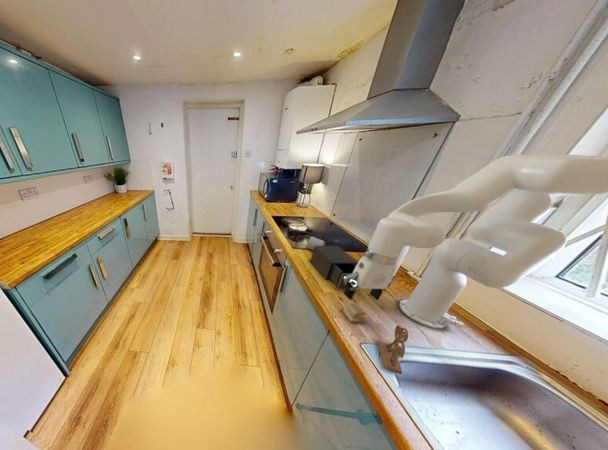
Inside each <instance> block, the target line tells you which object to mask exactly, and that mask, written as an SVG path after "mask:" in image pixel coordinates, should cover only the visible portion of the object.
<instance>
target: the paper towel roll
mask: <svg viewBox="0 0 608 450" xmlns="http://www.w3.org/2000/svg"><path fill="white" fill-rule="evenodd" d="M410 247H411V246H407V245H405V246H404V247H403V248H402V250H401V252H400V254H399V256H398V258H397V260H396V262H395V263H396V268H395V271H394V274H393V277H395V276H396V274H397V273H398V270H399V268H400V266H401V264H402V263H403V261H404V259H405V257H406V255H407V253H408V251H409V249H410Z"/></svg>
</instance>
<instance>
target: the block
mask: <svg viewBox="0 0 608 450" xmlns="http://www.w3.org/2000/svg"><path fill="white" fill-rule="evenodd" d="M342 313H343V314H344V315H345V316H346V318H348V320H349V322H351V323H352V322H353V323H354V322H355V323H357V322H358V323H359V322H364V320H365V318H366V316H367V311H365V309H364V308H363V307H362V306H361V305H360V304H359V303H357V302H356V303H353V302H352V303H351V302H350V303H346V304H345V307H344V309H343V312H342Z"/></svg>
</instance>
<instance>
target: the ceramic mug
mask: <svg viewBox="0 0 608 450" xmlns="http://www.w3.org/2000/svg"><path fill="white" fill-rule="evenodd" d="M314 246H326V241H324V239H323V240H322V239H319V238H317V237H314V236H310V238H309V239H308V241H307V244H306V249H308V250H310V251H313V250H314Z"/></svg>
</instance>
